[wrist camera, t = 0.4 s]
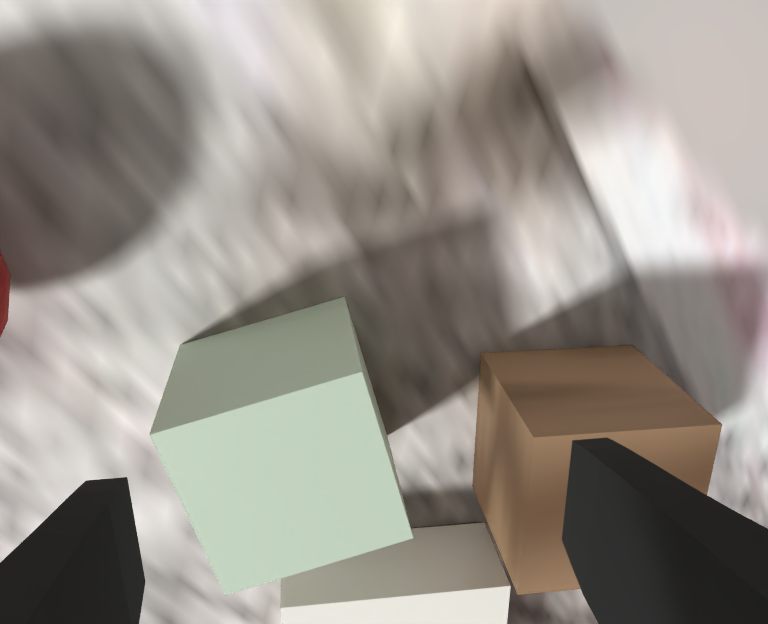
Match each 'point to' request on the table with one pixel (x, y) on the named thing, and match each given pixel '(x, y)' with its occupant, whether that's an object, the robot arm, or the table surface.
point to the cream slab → (406, 583)
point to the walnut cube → (554, 442)
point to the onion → (4, 293)
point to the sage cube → (280, 447)
